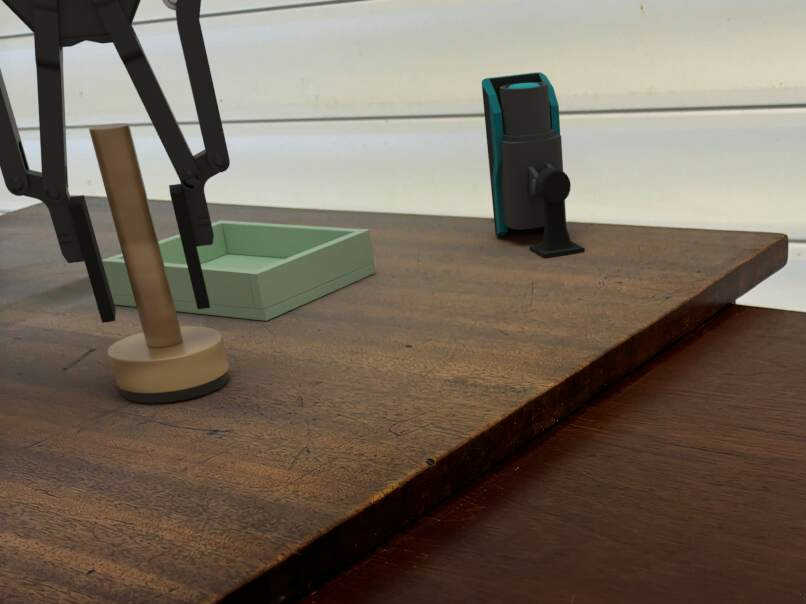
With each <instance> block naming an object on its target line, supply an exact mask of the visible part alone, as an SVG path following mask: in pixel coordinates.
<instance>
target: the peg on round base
mask: <svg viewBox="0 0 806 604" xmlns="http://www.w3.org/2000/svg"><path fill="white" fill-rule="evenodd" d="M88 132H89V134H90V139H91V142H92V145H93V150H94V154H95V157H96V162H97V165H98V168H99V169H98V170H99V173H100V176H101V180H102V183H103V188H104V191H105V195H106V199H107V202H108V207H109V209H110V213H111V217H112V220H113V224H114V229H115V232H116V236H117V239H118V243H119V247H120V250H121V254H122V255H123V258H124V262H125V266H126V269H127V273H128V277H129V281H130V284H131V288H132V292H133V296H134V299H135V303H136V307H135V308H136V310H137V315H138V317H139V321H140V325H141V329H142V332H139V333H138V332H137V333H135V334H132V335H129V336H126V337H124V338H122V339H119V340H118V341H115V342H114V343H112V345H110V346H109V348H108V349H107V351H106V353H107V357H108V360H109V364H110V368H111V371H112V374H113V378H114V382H115V384H116V386H117V387H118V388H119V389H120V390H121V394H122V396H123V397H124V398H125V399H127V400H128V401H131V402H134V403H140V404H169V403H177V402H182V401H187V400H191V399H196V398H199V397H203V396H205V395H209V394H211V393H213V392H215V391H217V390H219V389H220V388H222V387H224V386H225V385H226V384H227V383H228V380H229V373H228V371H229V368H230V363H229V359H228V355H227V350H226V346H225V340H224V337H223V333H221V332H220V331H219V330H217V329H215V328H211V327H206V326H197V325H183V326H180V323H179V319H178V313H177V311H176V310H175V306H174V302H173V298H172V294H171V290H170V286H169V282H168V278H167V274H166V270H165V266H164V262H163V258H162V254H161V250H160V246H159V242H158V241H159V237H158V234H157V230H156V227H155V222H154V217H153V214H152V211H151V210H152V209H151V205H150V202H149V198H148V195H147V190H146V186H145V182H144V178H143V174H142V170H141V166H140V163H139V158H138V154H137V149H136V146H135V143H134V138H133V133H132V130H131V126H130V124H129V123H125V122H119V123H117V122H116V123H107V124H100V125H96V126H95V125H94V126H92V127H89V128H88Z"/></svg>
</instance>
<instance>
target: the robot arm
mask: <svg viewBox="0 0 806 604" xmlns="http://www.w3.org/2000/svg"><path fill="white" fill-rule="evenodd" d="M1 1H2V2H3V4H4V5H5V6H6V7H7V8H9V10H10V11H11V12H12V13H13V14H14V15H15V16H16V17H17V18H18V19H19V20H20V21H21V22H22V23H23V24H24V25H25V26H26V27H27V28H28V29H29V30H30V31H31V32H32V33H33V39H34V40H33V41H34V44H33V45H34V59H35V68H36V69H35V70H36V85H37V88H36V89H37V106H38V125H39V143H40V144H39V145H40V165H41V171H39V170H33V169H30V166H29V162H28V159H27V155H26V152H25V148H24V146H23V145H24V144H23V142H22V139H21V135H20V131H19V128H18V125H17V121H16V118H15V115H14V110H13V108H12V103H11V101H10V97H9V94H8V89H7V87H6V83H5V79H4V75H3V73H2V69H1V68H0V172H1V175H2V179H3V182H4V185H5V187H6V189H7V190H8V192H9V193H10V194H12V195H13V196H17V197H22V196H24V197H27V198H32V199H36V200H39V201H40V202H42V203H43V204H44V205H45V206H46V208H47V209H48V211H49V216H50V218H51V219H50V220H51V223H52V225H53V228H54V232H55V235H56V239H57V242H58V246H59V248H60V252H61V256H63V258H64V260H65V261H66V262H67V264H74V263H75V264H76V263H83V262H84V264H85V268H86V272H87V275H88V279H89V283H90V286H91V289H92V292H93V293H92V294H93V296H94V301H95V303H96V306H97V310H98V313H99V317H100V321H101V323H102V324H104V323H110V322H116V314H117V313H116V312H117V311H116V310H117V309H116V305H114V301H113V298H112V294H111V291H110V287H109V283H108V280H107V276H106V273H105V269H104V265H103V262H102V260H103V259H102V255H101V251H100V248H99V244H98V240H97V237H96V234H95V230H94V226H93V222H92V219H91V215H90V212H89V209H88V204H87V202H86V198H85V195H84V194H81V195H75V196H73V195H72V196H71V195H70V191H69V179H68V178H69V176H68V155H67V154H68V153H67V151H68V149H67V129H66V127H67V126H66V105H65V82H64V81H65V78H64V77H65V76H64V48H68V47H69V48H71V47H73V46H76V45H79V44H81V43H84V42H86V41H87V42H92V43H98V44H113V46H114V49H115V50H116V52H117V55H118V56H119V58H120V60H121V62H122V64H123V66H124V68H125V69H126V73H127V74H128V76H129V79H130V80H131V82H132V84H133V86H134V89H135V91H136V92H137V95H138V96H139V98H140V101H141V103H142V105H143V107H144V109H145V111H146V113H147V115H148V117H149V120H150V121H151V124H152V126H153V128H154V130H155V133H156V134H157V136H158V138H159V140H160V142H161V144H162V146H163V148H164V150H165V152H166V154H167V156H168V159H169V161H170V163H171V165H172V168H173V169H174V171H175V173H176V175H177V177H178V179H179V182H180V183H177V184H169V185H168V188H169V195H170V200H171V203H172V208H173V212H174V216H175V220H176V224H177V225H176V226H177V229H178V233H179V234H180V237H181V242H182V246H183V250H184V254H185V258H186V263H187V267H188V271H189V275H190V279H191V284H192V288H193V292H194V296H195V300H196V304H197V309H205V308H210V304H209V298H208V294H207V290H206V285H205V281H204V277H203V272H202V268H201V264H200V259H199V255H198V251H197V247H198V246H205V245H213V238H214V233H213V229H212V224H211V223H212V220H211V216H210V215H211V214H210V211H209V207H208V202H207V198H206V194H205V193H206V192H205V187H206V183H207V182H208V180H209V179H211V178H213V177H214V176H216V175H218V174H220V173H224V172H226V171H227V170H228V169H229V168H230V165H231V160H230V156H229V150H228V145H227V141H226V136H225V131H224V128H223V127H224V126H223V123H222V117H221V113H220V110H219V105H218V104H219V103H218V99H217V95H216V90H215V85H214V81H213V77H212V72H211V71H212V70H211V67H210V61H209V57H208V53H207V49H206V44H205V40H204V34H203V31H202V26H201V22H200V21H201V20H200V17H201V8H202V7H201V6H202V0H162V3H163V4H164V6H165V7H166V8H168V9H170V10H171V11H175V20H176V27H177V33H178V36H179V41H180V46H181V50H182V55H183V59H184V63H185V68H186V71H187V76H188V80H189V86H190V89H191V94H192V98H193V102H194V107H195V111H196V116H197V120H198V124H199V129H200V133H201V136H202V138H201V139H202V143H203V146H204V149H203V150H201V151H199V152H197V153H196V154H193V153H192V151H191V148H190V146H189V144H188V142H187V139H186V138H185V136H184V133H183V131H182V129H181V127H180V125H179V123H178V121H177V119H176V116H175V115H174V112H173V109H172V108H171V106H170V104H169V102H168V100H167V97H166V95H165V93H164V91H163V89H162V87H161V84H160V82H159V81H158V78H157V76H156V75H155V72H154V70H153V67H152V65H151V63H150V61H149V59H148V57H147V55H146V53H145V50H144V48H143V46H142V44H141V41H140V39H139V37H138V35H137V32H136V31H135V29H134V27H133V23H134V20H135V17H136V14H137V11H138V9H139V6H140V4H141V0H1Z"/></svg>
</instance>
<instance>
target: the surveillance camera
mask: <svg viewBox="0 0 806 604" xmlns="http://www.w3.org/2000/svg"><path fill="white" fill-rule="evenodd" d="M481 91H482V103H483V104H482V105H483V114H484V124H485V134H486V135H485V136H486V146H487V158H488V168H489V179H490V189H491V190H490V191H491V203H492V212H493V222H494V232H495V233H494V235H495V236H497V237H508V236H509V235H510V236H514V235H515V234H516V235H520V233H522V234H528V233H536V232H542V231H543V235H542V241H541V243H539V244H534V245H529V246H528V249H529V250H530V251H531V252H533V253H535V254H537V255H539V256H540V257H541V258H544V259H547V258H551V257H558V256H565V255H571V254H577V253H584V252H586V251H585V250H586V249H585V247H583V246H581V245H579V244H578V243H576V242H574V241H572V240H571V237H570V234H569V231H568V227H567V213H566V212H567V211H566V200H567V198H568V197H569V196H570V192H571V188H572V187H571V186H572V185H571V180H570V178H569V175H568V174H567V173H565V171H564V162H563V161H564V159H563V143H562V142H563V141H562V135H561V123H560V121H561V120H560V105H559V102H558V98H557V95H556V91H555V88H554V86H553V84H552V83H551V81H550V79H549V78H548V77H547V75H545V74H544V73H543V72H539V71H537V72H528V73H520V74H511V75H502V76H494V77H493V76H492V77H487V78H483V79H482V80H481ZM510 236H509V237H510Z"/></svg>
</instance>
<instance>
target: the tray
mask: <svg viewBox="0 0 806 604" xmlns="http://www.w3.org/2000/svg"><path fill="white" fill-rule="evenodd" d="M211 224H212V229H213V233H214V238H213V245H205V246H198V247H197V251H198V255H199V259H200V264H201V268H202V272H203V277H204V281H205V285H206V290H207V294H208V298H209V304H210V308H205V309H197V304H196V300H195V296H194V292H193V288H192V284H191V279H190V275H189V271H188V267H187V263H186V258H185V254H184V250H183V246H182V242H181V237H180V233H179V234H176V235H173V236H170V237H167V238H164V239H161V240H158V242H159V246H160V250H161V254H162V258H163V262H164V266H165V270H166V274H167V278H168V282H169V286H170V290H171V294H172V298H173V302H174V306H175V310H176V312H179V313H187V314H188V313H189V314H199V315H209V316H217V317H226V318H235V319H245V320H252V321H253V320H254V321H263V322H268V321H269V320H272V319H274V318H276V317H279V316H281V315H283V314H285V313H288V312H290V311H292V310H294V309H296V308H299V307H301V306H303V305H305V304H308V303H311V302H312V301H315V300H317V299H320V298H322V297H324V296H327V295H329V294H331V293H334V292H335V291H338V290H341V289H342V288H345V287H347V286H350V285H351V284H354V283H356V282H359V281H360V280H362V279H365V278H367V277H370V276H372V275H374V274H376V266H375V260H374V252H373V247H372V239H371V232H370V229H365V228H361V229H360V228H349V227H348V228H347V227H331V226H316V225H301V224H287V223H285V224H283V223H269V222H268V223H267V222H255V221H254V222H252V221H239V220H237V221H235V220H234V221H233V220H223V219H221V220H217V221H215V222H211ZM102 262H103V265H104V269H105V273H106V276H107V280H108V283H109V287H110V291H111V294H112V298H113V301H114V305H115V306H123V307H124V306H125V307H133V308H137V307H136V303H135V299H134V296H133V292H132V288H131V284H130V281H129V277H128V273H127V269H126V266H125V262H124V258H123V255H122V253H119V254H116V255H113V256H109V257H107V258H104V259H102Z"/></svg>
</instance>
